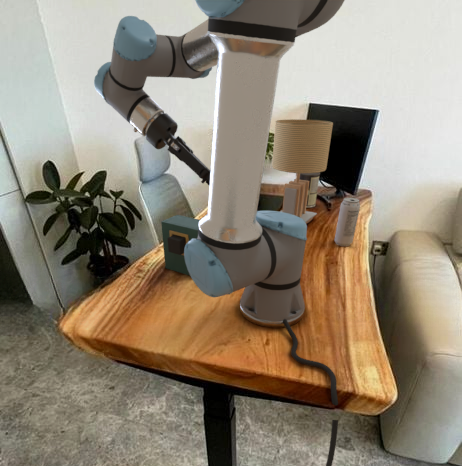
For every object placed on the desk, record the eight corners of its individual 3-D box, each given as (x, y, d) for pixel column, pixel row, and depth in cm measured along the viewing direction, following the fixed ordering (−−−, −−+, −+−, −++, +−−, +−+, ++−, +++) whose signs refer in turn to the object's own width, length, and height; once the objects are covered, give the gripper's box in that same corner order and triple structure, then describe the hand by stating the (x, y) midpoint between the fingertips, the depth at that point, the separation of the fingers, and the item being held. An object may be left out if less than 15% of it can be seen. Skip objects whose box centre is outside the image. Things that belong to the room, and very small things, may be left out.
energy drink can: (345, 239, 124) (353, 196, 116) (355, 245, 119) (365, 201, 111) (330, 241, 122) (337, 197, 114) (340, 247, 117) (349, 203, 109)
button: (180, 255, 93) (179, 241, 91) (168, 251, 95) (167, 237, 93) (191, 248, 97) (190, 235, 95) (180, 245, 99) (179, 232, 97)
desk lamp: (307, 233, 128) (321, 125, 110) (259, 223, 137) (265, 122, 118) (325, 219, 142) (340, 121, 124) (280, 210, 151) (289, 118, 133)
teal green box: (198, 279, 97) (196, 230, 90) (164, 268, 102) (160, 221, 95) (213, 269, 102) (212, 222, 95) (180, 259, 107) (177, 214, 100)
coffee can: (296, 208, 154) (299, 174, 147) (290, 201, 163) (293, 169, 156) (318, 207, 156) (323, 174, 148) (311, 201, 164) (315, 169, 157)
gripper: (153, 142, 89) (222, 208, 92) (135, 133, 76) (215, 209, 80) (172, 118, 87) (241, 185, 90) (157, 104, 74) (238, 184, 78)
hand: (229, 197), depth 85 cm, fingers closed
